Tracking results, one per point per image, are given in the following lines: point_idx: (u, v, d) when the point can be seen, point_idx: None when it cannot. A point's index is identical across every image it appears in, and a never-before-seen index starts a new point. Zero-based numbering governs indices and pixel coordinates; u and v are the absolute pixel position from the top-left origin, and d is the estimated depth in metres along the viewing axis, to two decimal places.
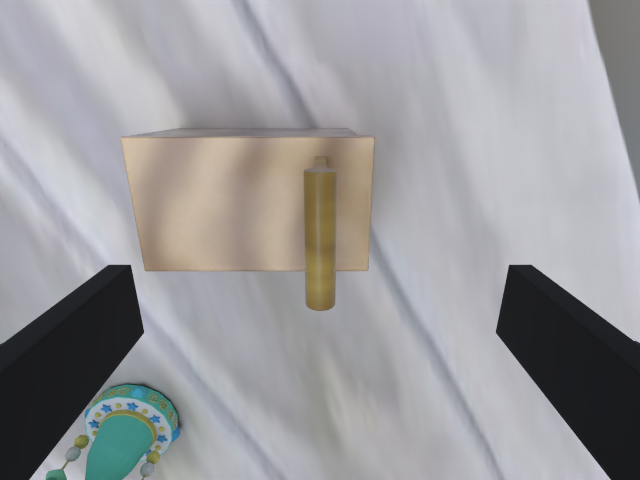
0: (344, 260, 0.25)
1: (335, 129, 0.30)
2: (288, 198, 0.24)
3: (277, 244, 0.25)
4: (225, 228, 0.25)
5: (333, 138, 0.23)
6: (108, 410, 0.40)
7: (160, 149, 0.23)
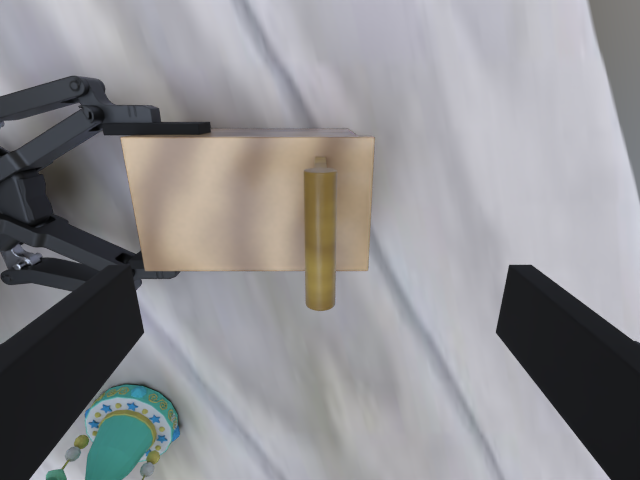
0: (344, 260, 0.25)
1: (335, 129, 0.30)
2: (288, 198, 0.24)
3: (277, 244, 0.25)
4: (225, 228, 0.25)
5: (333, 138, 0.23)
6: (108, 410, 0.40)
7: (160, 149, 0.23)
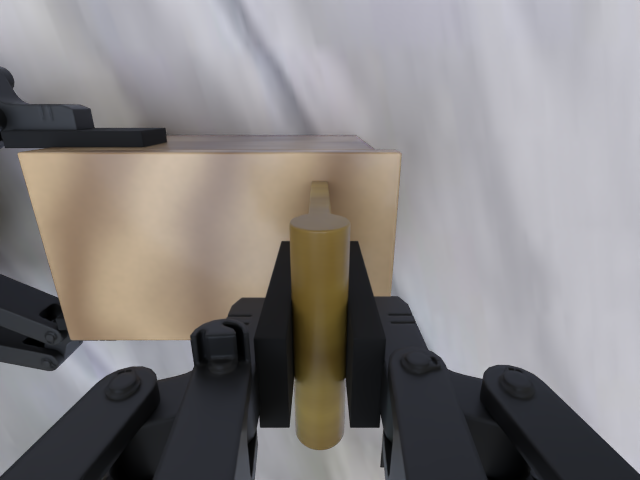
0: None
1: (340, 136, 0.23)
2: (272, 241, 0.16)
3: None
4: (182, 283, 0.17)
5: (339, 154, 0.15)
6: None
7: (79, 170, 0.15)
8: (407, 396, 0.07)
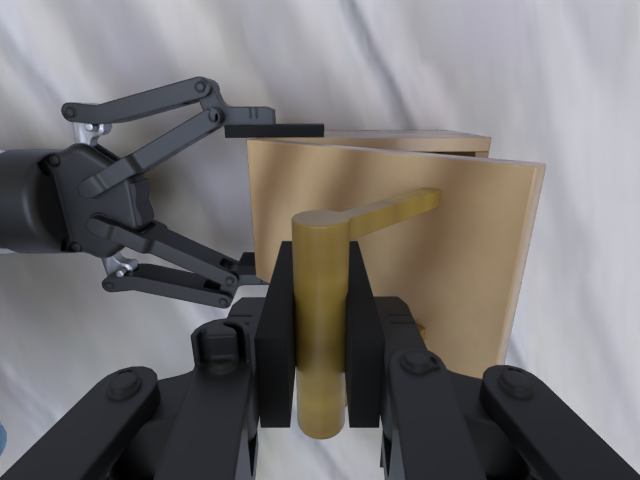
0: (452, 361, 0.15)
1: None
2: (384, 241, 0.16)
3: None
4: None
5: (458, 161, 0.13)
6: None
7: (271, 155, 0.21)
8: (406, 396, 0.07)
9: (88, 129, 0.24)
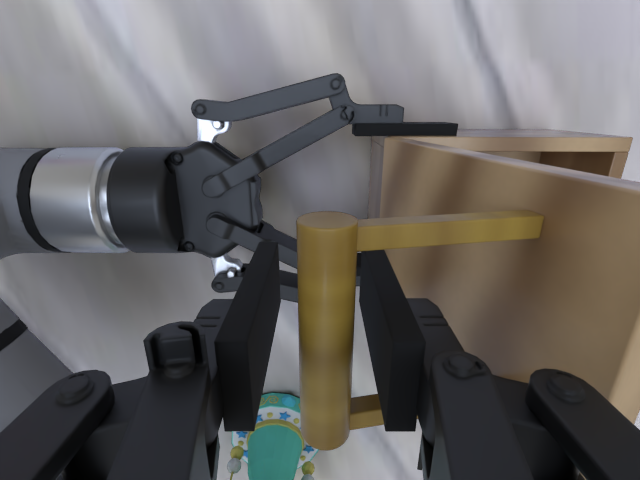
0: None
1: (546, 130, 0.29)
2: (478, 268, 0.13)
3: (454, 329, 0.15)
4: (419, 271, 0.18)
5: (570, 180, 0.09)
6: (259, 420, 0.39)
7: (399, 155, 0.20)
8: (451, 399, 0.07)
9: (216, 127, 0.23)
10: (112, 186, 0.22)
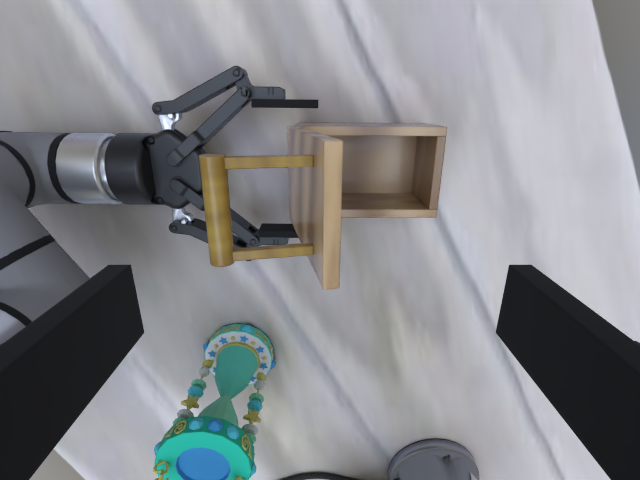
0: (317, 267, 0.24)
1: None
2: (307, 189, 0.26)
3: (305, 228, 0.28)
4: (298, 203, 0.31)
5: (315, 138, 0.22)
6: (225, 342, 0.51)
7: (290, 136, 0.33)
8: None
9: (170, 117, 0.36)
10: (108, 156, 0.35)
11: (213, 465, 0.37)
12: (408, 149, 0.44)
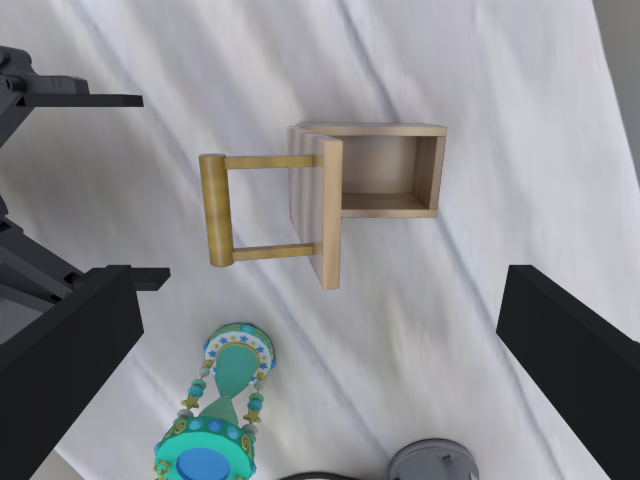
0: (317, 267, 0.24)
1: None
2: (307, 190, 0.26)
3: (305, 228, 0.28)
4: (298, 203, 0.31)
5: (315, 138, 0.22)
6: (225, 342, 0.51)
7: (290, 136, 0.33)
8: None
9: None
10: None
11: (213, 465, 0.37)
12: (408, 149, 0.44)
